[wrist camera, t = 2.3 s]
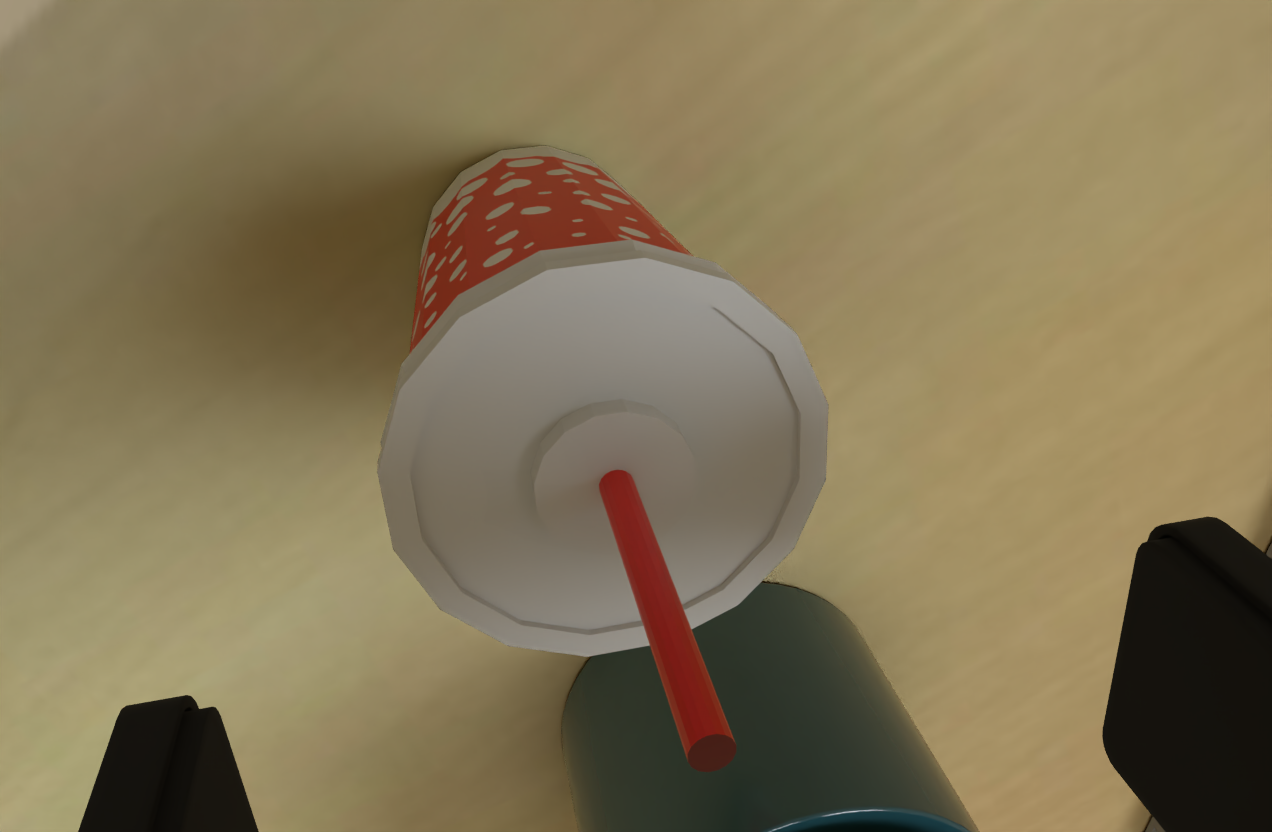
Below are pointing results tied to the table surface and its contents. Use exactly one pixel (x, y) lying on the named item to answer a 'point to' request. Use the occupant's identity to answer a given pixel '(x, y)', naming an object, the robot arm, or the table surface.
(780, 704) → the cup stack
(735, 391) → the beverage cup
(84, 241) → the table surface
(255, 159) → the table surface
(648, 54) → the table surface
